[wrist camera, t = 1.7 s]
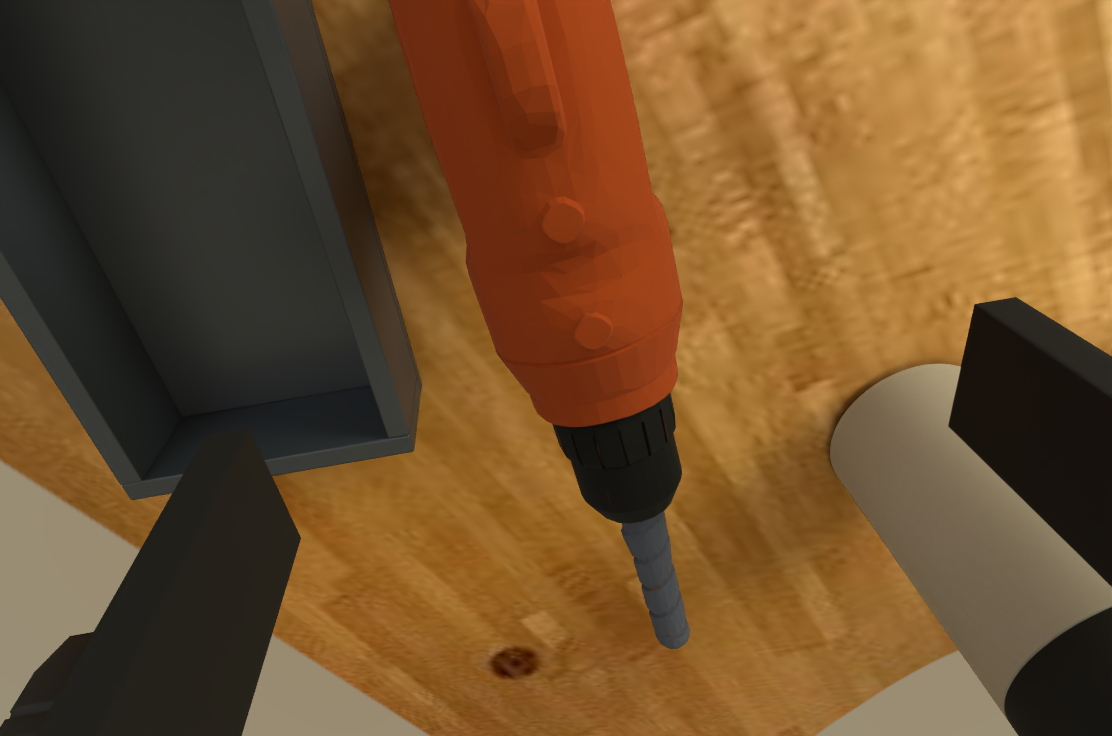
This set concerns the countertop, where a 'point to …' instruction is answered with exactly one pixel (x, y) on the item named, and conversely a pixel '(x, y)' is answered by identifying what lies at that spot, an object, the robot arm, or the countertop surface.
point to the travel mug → (980, 557)
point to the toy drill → (564, 244)
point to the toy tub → (196, 235)
